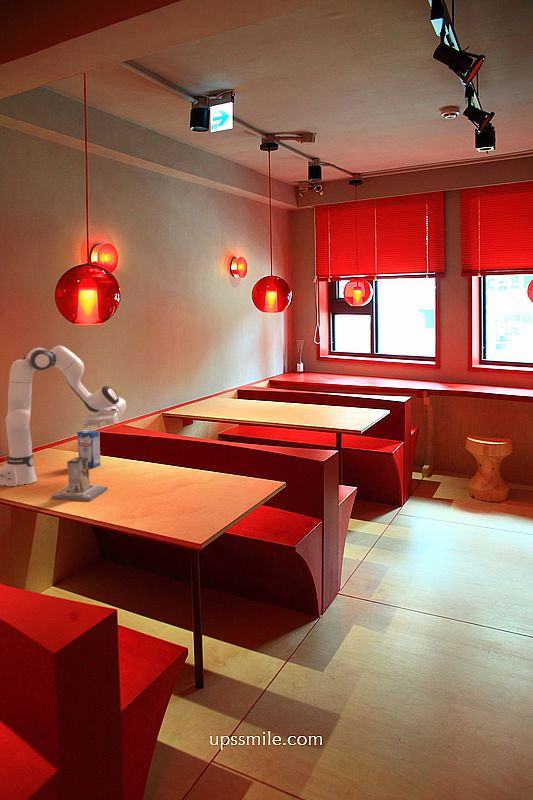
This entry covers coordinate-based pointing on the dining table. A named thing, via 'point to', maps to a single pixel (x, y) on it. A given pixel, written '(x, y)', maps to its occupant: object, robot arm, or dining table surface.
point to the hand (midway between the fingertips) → (91, 426)
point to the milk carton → (89, 447)
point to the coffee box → (78, 475)
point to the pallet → (84, 496)
